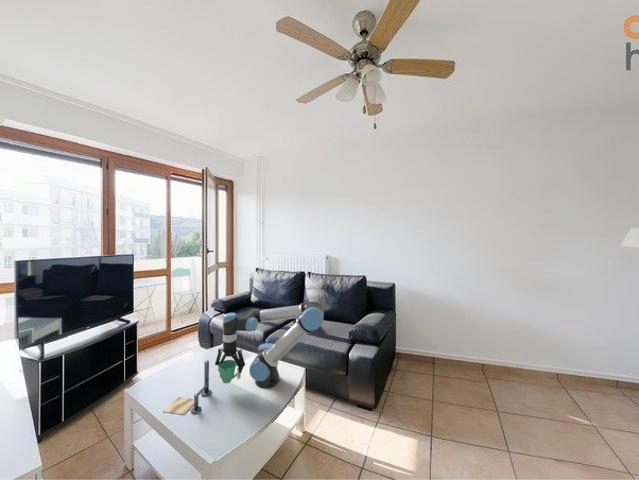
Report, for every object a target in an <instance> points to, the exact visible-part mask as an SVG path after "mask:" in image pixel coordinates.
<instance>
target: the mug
mask: <svg viewBox="0 0 639 480" xmlns="http://www.w3.org/2000/svg"><path fill="white" fill-rule="evenodd" d="M217 367H218V368H219V371H218V372H219V377H220V376H221V378H220V379H221V381H222V384H230V383H231V382H232V380H234V378H236V377H237V372H235V371H236V369H237V367H238V366H237V364H236V362H235V360H234V359H225V360H224V361H223V362H222V364H221V365H220V363H219V365H217ZM243 369H244V367H243V368H242V371H243Z"/></svg>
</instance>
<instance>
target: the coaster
mask: <svg viewBox="0 0 639 480" xmlns="http://www.w3.org/2000/svg"><path fill="white" fill-rule="evenodd" d="M193 407H194V398H191V397H189V398H188V397H183V396H182V397H181V396H178V397H177V398H176V399H175V400H174V401H173V402H172V403H171V404H170V405H168V407H166V408H165V409H164V410H163V411H164V412H163V413H167V412H168V413H167V414H175V415H181V416H185V415H186V413H188V412H189V411H191V409H192V408H193Z"/></svg>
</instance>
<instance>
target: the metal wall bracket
mask: <svg viewBox="0 0 639 480" xmlns="http://www.w3.org/2000/svg"><path fill="white" fill-rule="evenodd" d="M203 373H204V374H203V375H204V376H203V377H204V381H203V382H204V383H203V385H204V386H202V388H200V390H199V391H197V393H195V394H194V395H193V396H194V397H193V399H194V405H193V407H191V408H190V414H192V415H197V414H199V413H201V411H202V407H201V406H199V395H200V396H201V397H202V398H203V397H204V398H205V397H206V398H207V397H209V396H211V395H212V393H213V392H212V390H211V389H210V387H209V386H210V360H205V361H204V372H203Z"/></svg>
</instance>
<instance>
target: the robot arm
mask: <svg viewBox="0 0 639 480" xmlns="http://www.w3.org/2000/svg"><path fill="white" fill-rule="evenodd" d="M324 317H325V308H324V306H323V305H322V304H321V303H320V302H318V301H307V302H302V303H300V304H297V305H290V306H282V307H275V308H267V309H257V308H256V309H252V310H251V311H249V312H248V314H247V315H245V317H242V316H241V317H240V316H239V317H238V316H237V313H236V312H228V313H225V314H224V315H223V317H222V347H219V348H218V350H217V355H216V358H215V363H214V366H218V365H219V363H220V365H221V364H222V362H223V361H225V360H226V358H227V357H230V358H232V360H234V361H235V362H236V364H237V366H236V369H237V371H236V373H237V376H236V377H237V378H236V379H237V381H238V380H240V378H241V377H242V376H241V374H242V373H243V370H242V368H243V369H244V367H245V366H246V363H245V359H244V356H243V350H242V349H241V348H239V349H238V347H237V346H238V341H237V334H238V333H237V331H238V332H255V331H257V328H258V324H259V323H261V324H262V323H266V322H267V323H268V322H277V321H283V320H291V319H292V320H293V319H296V321H295V323H294V324H293V325H292V326H290V328H289V329H288V330H287V331H285V333H283V335H281V336H280V337H279V339H278V340H276V342H274V343H271V342H270V343H269V342H267V343H262V344H260V345H259V346H258V349H257V350H258V353H257V355H256V356H255V357H254V359H253V361H252V362H251V363H250V365H249V374H250V377H251V378H252V379H253V380H255V381H254V383H255V385H256V386H258V387H259V388H264V389H266V388H268V389H269V388H272V387H274V386H276V385H278V384H279V383H280V380H281V379H280V377H281V375H280V374H279V369H278V365H279V362H280V360H281V359H283V357H284V356H285V355H286V354H287V353H288V352H289V351H291V349H292V348H293V347H294V346H295V345H297V344H298V342H299V341H301V339H303V337H304V336H306V335H307V334H308V335H309V334H312V333H313V332H314V331H317V330H318V329H320V327H321V326H322V324H323V322H324ZM223 353H224V354H223ZM222 354H223V355H222ZM218 372H219V368H218ZM219 378H220V379H221V376H220V375H219Z"/></svg>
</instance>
